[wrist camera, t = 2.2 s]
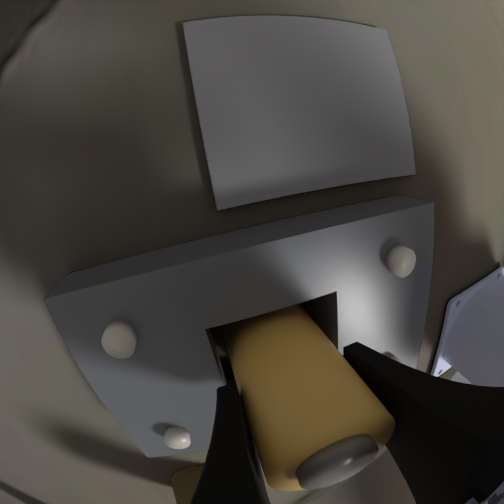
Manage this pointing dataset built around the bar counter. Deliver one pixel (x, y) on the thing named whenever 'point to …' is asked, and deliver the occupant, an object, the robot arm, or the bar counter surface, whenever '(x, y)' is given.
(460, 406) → the robot arm
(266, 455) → the plug
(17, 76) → the bar counter surface
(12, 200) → the bar counter surface
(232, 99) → the pad
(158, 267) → the grey socket block
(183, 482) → the cork
